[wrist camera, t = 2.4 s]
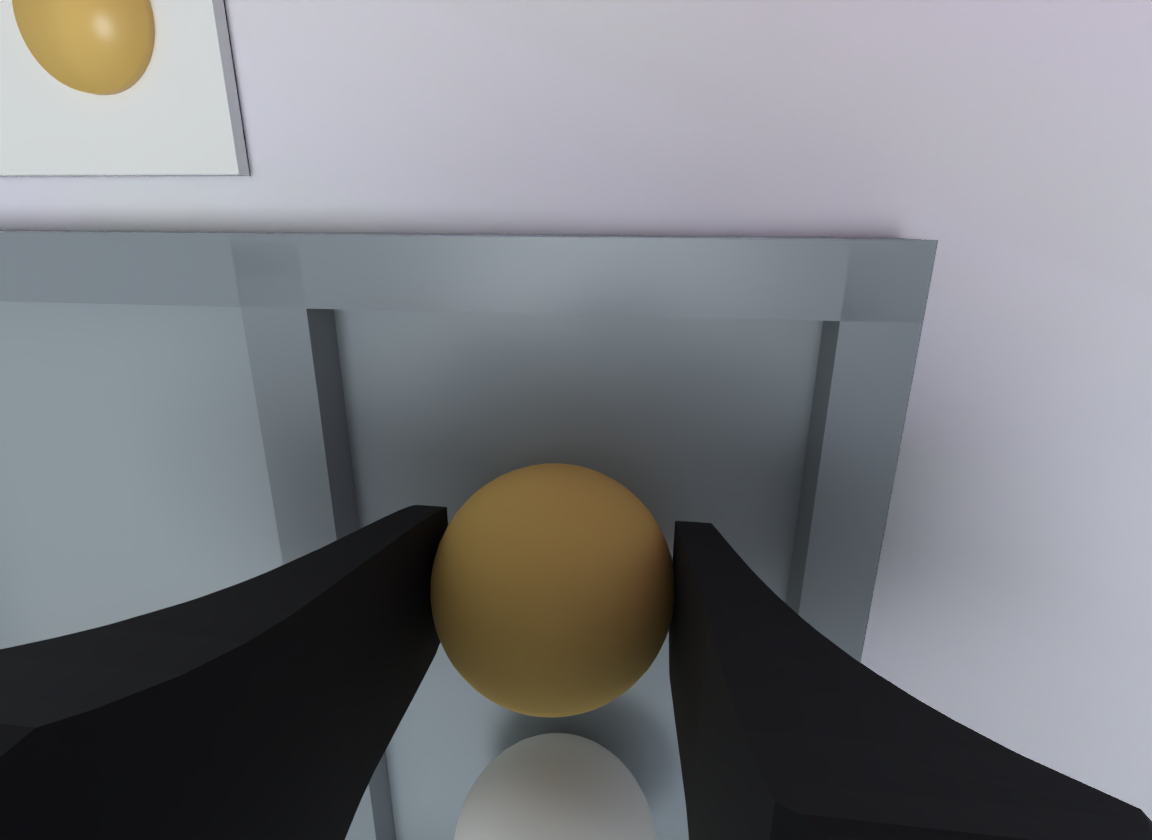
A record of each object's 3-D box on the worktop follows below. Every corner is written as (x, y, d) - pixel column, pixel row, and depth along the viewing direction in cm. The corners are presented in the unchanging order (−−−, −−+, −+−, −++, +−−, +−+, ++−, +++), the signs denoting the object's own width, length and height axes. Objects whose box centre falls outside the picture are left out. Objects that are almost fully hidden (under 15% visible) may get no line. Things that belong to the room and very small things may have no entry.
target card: (249, 175, 11) (231, 173, 11) (-127, 176, 12) (-159, 174, 11) (197, -166, 9) (174, -186, 9) (-230, -135, 10) (-272, -152, 10)
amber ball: (666, 620, 12) (672, 796, 9) (475, 605, 13) (400, 765, 9) (677, 436, 11) (689, 545, 7) (465, 426, 12) (374, 525, 8)
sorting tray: (789, 908, 15) (802, 973, 14) (38, 810, 17) (-13, 858, 16) (900, 238, 10) (937, 240, 9) (-173, 228, 12) (-271, 230, 11)
